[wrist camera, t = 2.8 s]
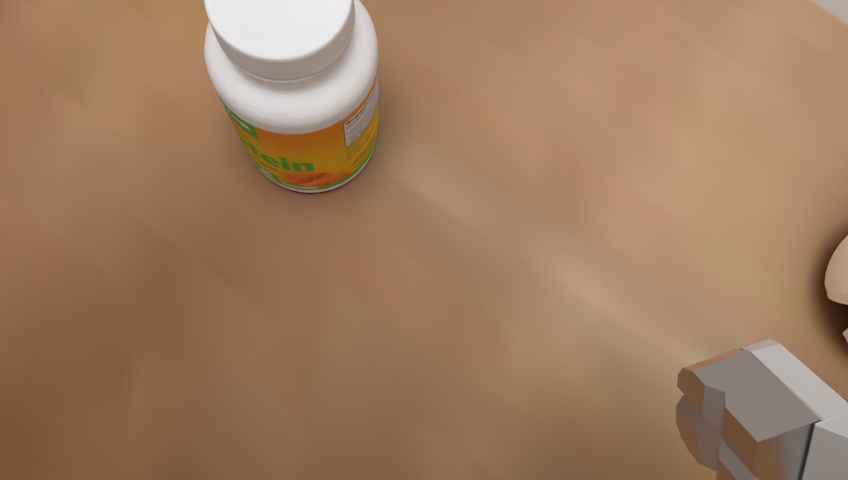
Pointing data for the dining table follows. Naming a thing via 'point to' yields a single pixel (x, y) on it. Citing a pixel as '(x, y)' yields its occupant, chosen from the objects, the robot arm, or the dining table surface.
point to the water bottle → (838, 276)
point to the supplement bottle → (297, 85)
